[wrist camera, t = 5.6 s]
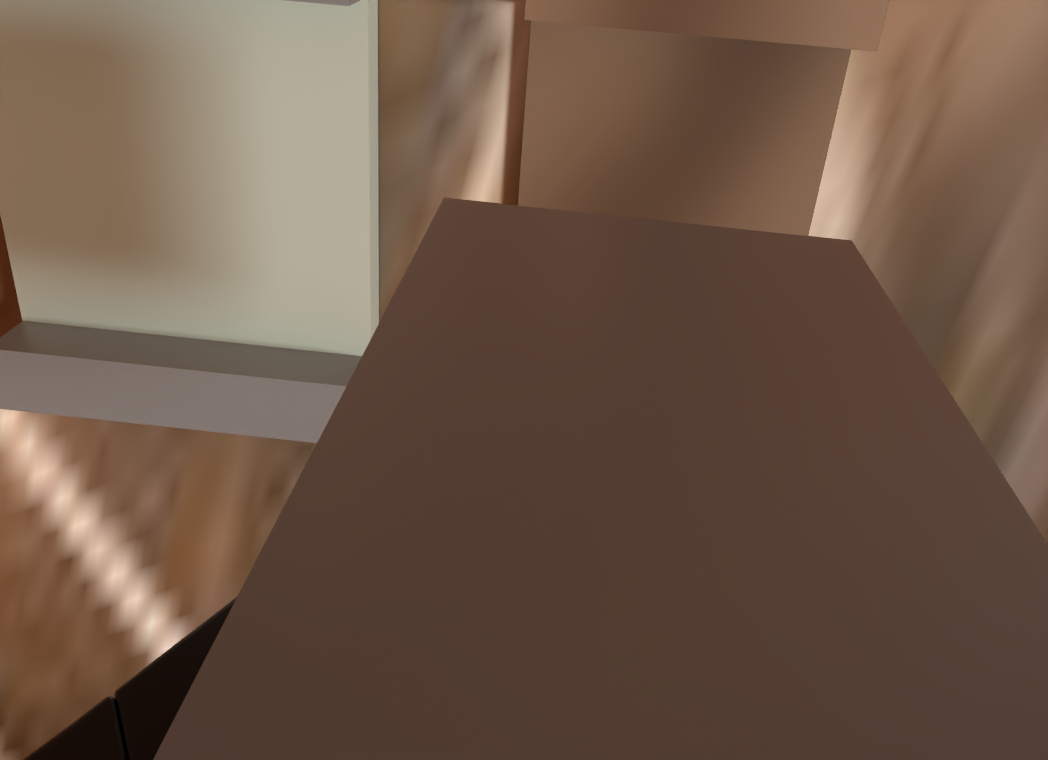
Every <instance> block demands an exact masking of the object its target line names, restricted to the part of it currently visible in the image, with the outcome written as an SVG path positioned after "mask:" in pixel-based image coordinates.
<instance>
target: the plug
mask: <svg viewBox="0 0 1048 760" xmlns="http://www.w3.org/2000/svg"><path fill="white" fill-rule="evenodd" d="M153 760H1048V544H1047V543H1046V541H1045V539H1044V538H1043V536H1042V535H1041V533H1040V532H1039V530H1038V529H1037V527H1036V526H1035V524H1034V522H1033V521H1032V519H1031V518H1030V516H1029V515H1028V513H1027V512H1026V510H1025V508H1024V507H1023V505H1022V504H1021V502H1020V501H1019V499H1018V498H1017V496H1016V495H1015V493H1014V491H1013V490H1012V488H1011V487H1010V485H1009V484H1008V482H1007V481H1006V479H1005V477H1004V476H1003V474H1002V473H1001V471H1000V470H999V468H998V467H997V465H996V464H995V462H994V460H993V459H992V457H991V456H990V454H989V453H988V451H987V450H986V448H985V446H984V445H983V443H982V442H981V440H980V439H979V437H978V436H977V434H976V433H975V431H974V429H973V428H972V426H971V425H970V423H969V422H968V420H967V419H966V417H965V415H964V414H963V412H962V411H961V409H960V408H959V406H958V405H957V403H956V402H955V400H954V398H953V397H952V395H951V394H950V392H949V391H948V389H947V388H946V386H945V384H944V383H943V381H942V380H941V378H940V377H939V375H938V374H937V372H936V371H935V369H934V367H933V366H932V364H931V363H930V361H929V360H928V358H927V357H926V355H925V353H924V352H923V350H922V349H921V347H920V346H919V344H918V343H917V341H916V340H915V338H914V336H913V335H912V333H911V332H910V330H909V329H908V327H907V326H906V324H905V322H904V321H903V319H902V318H901V316H900V315H899V313H898V312H897V310H896V309H895V307H894V305H893V304H892V302H891V301H890V299H889V298H888V296H887V295H886V293H885V291H884V290H883V288H882V287H881V285H880V284H879V282H878V281H877V279H876V278H875V276H874V274H873V273H872V271H871V270H870V268H869V267H868V265H867V264H866V262H865V260H864V259H863V257H862V256H861V254H860V253H859V251H858V250H857V248H856V247H855V245H854V243H853V242H852V241H850V240H841V239H831V238H822V237H812V236H803V235H793V234H784V233H774V232H765V231H755V230H746V229H736V228H727V227H717V226H708V225H698V224H689V223H679V222H670V221H660V220H651V219H641V218H632V217H622V216H613V215H603V214H594V213H584V212H575V211H565V210H556V209H546V208H537V207H528V206H518V205H509V204H499V203H490V202H480V201H471V200H461V199H452V198H444V199H443V201H442V203H441V205H440V207H439V209H438V210H437V212H436V214H435V216H434V218H433V220H432V222H431V224H430V226H429V228H428V230H427V232H426V234H425V236H424V237H423V239H422V241H421V243H420V245H419V247H418V249H417V251H416V253H415V255H414V257H413V259H412V261H411V263H410V265H409V266H408V268H407V270H406V272H405V274H404V276H403V278H402V280H401V282H400V284H399V286H398V288H397V290H396V292H395V293H394V295H393V297H392V299H391V301H390V303H389V305H388V307H387V309H386V311H385V313H384V315H383V317H382V319H381V321H380V322H379V324H378V326H377V328H376V330H375V332H374V334H373V336H372V338H371V340H370V342H369V344H368V346H367V348H366V349H365V351H364V353H363V355H362V357H361V359H360V361H359V363H358V365H357V367H356V369H355V371H354V373H353V375H352V377H351V378H350V380H349V382H348V384H347V386H346V388H345V390H344V392H343V394H342V396H341V398H340V400H339V402H338V404H337V405H336V407H335V409H334V411H333V413H332V415H331V417H330V419H329V421H328V423H327V425H326V427H325V429H324V431H323V433H322V434H321V436H320V438H319V440H318V442H317V444H316V446H315V448H314V450H313V452H312V454H311V456H310V458H309V460H308V461H307V463H306V465H305V467H304V469H303V471H302V473H301V475H300V477H299V479H298V481H297V483H296V485H295V487H294V489H293V490H292V492H291V494H290V496H289V498H288V500H287V502H286V504H285V506H284V508H283V510H282V512H281V514H280V516H279V517H278V519H277V521H276V523H275V525H274V527H273V529H272V531H271V533H270V535H269V537H268V539H267V541H266V543H265V544H264V546H263V548H262V550H261V552H260V554H259V556H258V558H257V560H256V562H255V564H254V566H253V568H252V570H251V572H250V573H249V575H248V577H247V579H246V581H245V583H244V585H243V587H242V589H241V591H240V593H239V595H238V597H237V599H236V600H235V602H234V604H233V606H232V608H231V610H230V612H229V614H228V616H227V618H226V620H225V622H224V624H223V626H222V628H221V629H220V631H219V633H218V635H217V637H216V639H215V641H214V643H213V645H212V647H211V649H210V651H209V653H208V655H207V656H206V658H205V660H204V662H203V664H202V666H201V668H200V670H199V672H198V674H197V676H196V678H195V680H194V682H193V684H192V685H191V687H190V689H189V691H188V693H187V695H186V697H185V699H184V701H183V703H182V705H181V707H180V709H179V711H178V712H177V714H176V716H175V718H174V720H173V722H172V724H171V726H170V728H169V730H168V732H167V734H166V736H165V738H164V740H163V741H162V743H161V745H160V747H159V749H158V751H157V753H156V755H155V757H154V759H153Z"/></svg>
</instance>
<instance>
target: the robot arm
mask: <svg viewBox="0 0 1048 760" xmlns="http://www.w3.org/2000/svg"><path fill="white" fill-rule="evenodd" d="M236 599H237V597H236V598H235V599H234V600H232V601H231V602H230V603H229V604H227V605H226V606H225V607H223V608H222V609H221V610H219V611H218V612H217V613H216V614H214V615H213V616H212V617H210V618H209V619H208V620H206V621H205V622H204V623H203V624H201V625H200V626H199V627H197V628H196V629H195V630H193V631H192V632H191V633H190V634H188V635H187V636H186V637H184V638H183V639H182V640H180V641H179V642H178V643H177V644H175V645H174V646H173V647H171V648H170V649H169V650H168V651H166V652H165V653H164V654H162V655H161V656H160V657H158V658H157V659H156V660H155V661H153V662H152V663H151V664H149V665H148V666H147V667H145V668H144V669H143V670H142V671H140V672H139V673H138V674H136V675H135V676H134V677H132V678H131V679H130V680H129V681H127V682H126V683H125V684H123V685H122V686H121V687H119V688H118V689H117V690H116V691H115V693H114V697H115V699H114V698H113V697H111V696H109V697H106V698H105V699H103V700H102V701H101V702H99V703H98V704H97V705H96V706H94V707H93V708H92V709H90V710H89V711H88V712H87V713H85V714H84V715H83V716H81V717H80V718H79V719H77V720H76V721H75V722H74V723H72V724H71V725H69V726H68V727H67V728H65V729H64V730H63V731H61V732H60V733H59V734H57V735H56V736H54V737H53V738H52V739H50V740H49V741H48V742H46V743H45V744H44V745H42V746H41V747H39V748H38V749H37V750H35V751H34V752H33V753H31V754H30V755H29V756H27V757H26V758H24V759H23V760H153V759H154V757H155V755H156V753H157V751H158V749H159V747H160V745H161V743H162V741H163V740H164V738H165V736H166V734H167V732H168V730H169V728H170V726H171V724H172V722H173V720H174V718H175V716H176V714H177V712H178V711H179V709H180V707H181V705H182V703H183V701H184V699H185V697H186V695H187V693H188V691H189V689H190V687H191V685H192V684H193V682H194V680H195V678H196V676H197V674H198V672H199V670H200V668H201V666H202V664H203V662H204V660H205V658H206V656H207V655H208V653H209V651H210V649H211V647H212V645H213V643H214V641H215V639H216V637H217V635H218V633H219V631H220V629H221V628H222V626H223V624H224V622H225V620H226V618H227V616H228V614H229V612H230V610H231V608H232V606H233V604H234V602H235V600H236Z"/></svg>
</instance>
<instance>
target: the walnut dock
mask: <svg viewBox="0 0 1048 760" xmlns="http://www.w3.org/2000/svg"><path fill="white" fill-rule="evenodd" d="M888 5H889V0H526V2H525V16H524V20H529V21H531V28H530V42H529V56H528V70H527V84H526V98H525V112H524V126H523V140H522V153H521V167H520V181H519V195H518V206H528V207H537V208H546V209H556V210H565V211H575V212H584V213H594V214H603V215H613V216H622V217H632V218H641V219H651V220H660V221H670V222H679V223H689V224H698V225H708V226H717V227H727V228H736V229H746V230H755V231H765V232H774V233H784V234H793V235H803V236H808V234H809V230H810V225H811V221H812V217H813V212H814V208H815V204H816V199H817V195H818V191H819V186H820V182H821V178H822V173H823V169H824V165H825V160H826V156H827V152H828V148H829V143H830V139H831V135H832V130H833V126H834V122H835V117H836V113H837V109H838V104H839V100H840V96H841V91H842V87H843V83H844V78H845V74H846V70H847V65H848V61H849V57H850V53H851V49H854V50H865V51H876V52H877V50H878V45H879V41H880V37H881V33H882V29H883V25H884V21H885V17H886V13H887V9H888Z"/></svg>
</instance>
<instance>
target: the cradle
mask: <svg viewBox="0 0 1048 760" xmlns="http://www.w3.org/2000/svg"><path fill="white" fill-rule="evenodd" d="M0 216H1V221H2V226H3V230H4V235H5V240H6V245H7V250H8V254H9V259H10V264H11V269H12V274H13V278H14V283H15V288H16V293H17V298H18V302H19V307H20V312H21V317H22V321H21V322H20V323H19V324H17V325H16V326H15V327H13V328H12V329H11V330H9V331H8V332H7V333H5V334H4V335H3V336H1V337H0V409H8V410H17V411H26V412H36V413H45V414H54V415H63V416H73V417H82V418H91V419H100V420H109V421H119V422H128V423H137V424H146V425H155V426H165V427H174V428H183V429H192V430H202V431H211V432H220V433H229V434H238V435H248V436H257V437H266V438H275V439H285V440H294V441H303V442H312V443H317V442H318V440H319V438H320V436H321V434H322V433H323V431H324V429H325V427H326V425H327V423H328V421H329V419H330V417H331V415H332V413H333V411H334V409H335V407H336V405H337V404H338V402H339V400H340V398H341V396H342V394H343V392H344V390H345V388H346V386H347V384H348V382H349V380H350V378H351V377H352V375H353V373H354V371H355V369H356V367H357V365H358V363H359V361H360V359H361V357H362V355H363V353H364V351H365V349H366V348H367V346H368V344H369V342H370V340H371V338H372V336H373V334H374V332H375V330H376V328H377V326H378V324H379V244H378V0H0Z"/></svg>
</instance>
